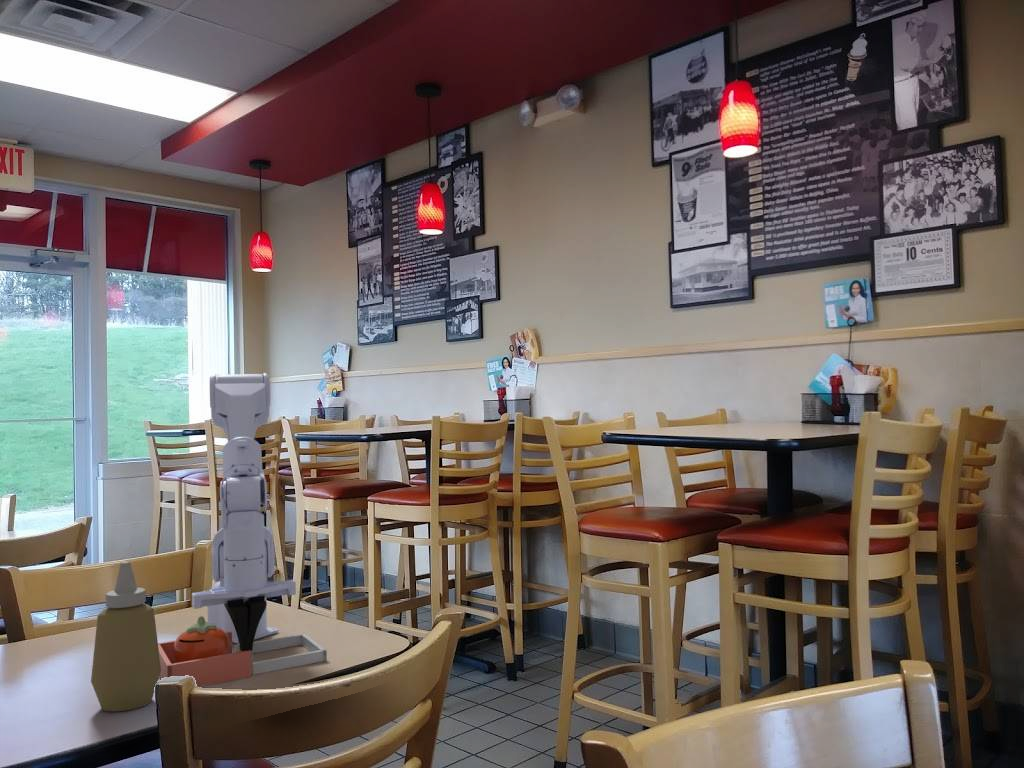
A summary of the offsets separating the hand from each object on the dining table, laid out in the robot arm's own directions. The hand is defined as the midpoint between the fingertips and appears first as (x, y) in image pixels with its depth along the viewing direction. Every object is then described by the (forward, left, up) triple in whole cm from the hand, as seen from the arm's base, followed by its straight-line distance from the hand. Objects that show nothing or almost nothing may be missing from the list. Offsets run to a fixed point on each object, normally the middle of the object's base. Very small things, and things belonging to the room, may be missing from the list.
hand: (246, 650), depth 117 cm
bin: (-2, -5, -2) cm, 6 cm away
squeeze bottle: (-1, -19, -2) cm, 19 cm away
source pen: (+2, +4, -2) cm, 5 cm away
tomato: (-3, -6, -2) cm, 7 cm away
